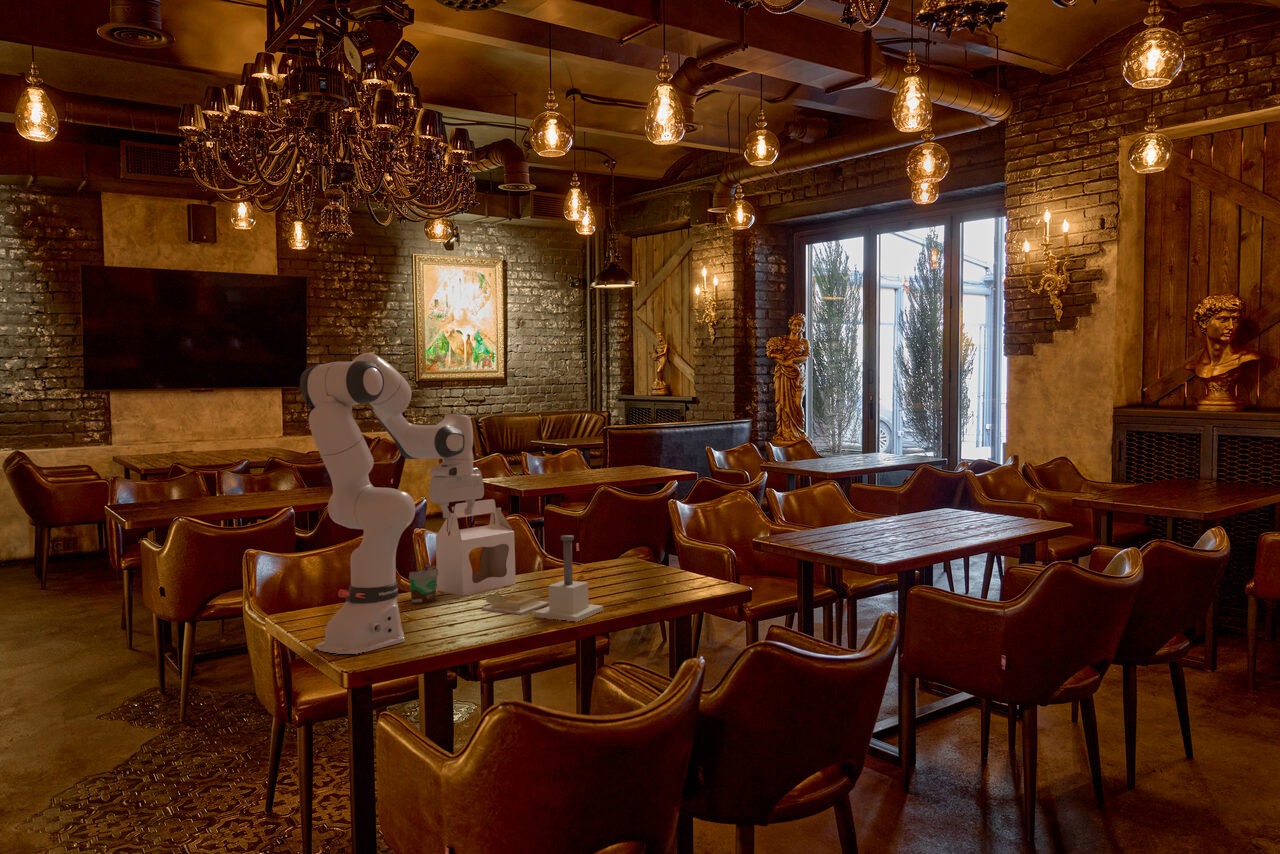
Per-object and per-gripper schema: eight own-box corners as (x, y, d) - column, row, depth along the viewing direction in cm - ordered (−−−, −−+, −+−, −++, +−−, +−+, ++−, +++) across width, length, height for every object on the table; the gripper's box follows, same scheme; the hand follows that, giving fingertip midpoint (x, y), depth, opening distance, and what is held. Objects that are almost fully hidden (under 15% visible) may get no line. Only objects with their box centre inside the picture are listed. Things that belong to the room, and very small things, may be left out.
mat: (521, 614, 254) (521, 612, 254) (482, 609, 261) (482, 607, 261) (549, 604, 266) (549, 602, 266) (511, 599, 273) (511, 597, 273)
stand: (576, 622, 244) (575, 541, 243) (534, 617, 251) (532, 538, 250) (603, 610, 257) (601, 533, 256) (562, 606, 263) (560, 531, 262)
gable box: (490, 579, 305) (488, 496, 304) (516, 584, 296) (514, 499, 295) (436, 591, 288) (433, 503, 287) (462, 596, 279) (459, 506, 278)
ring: (519, 610, 257) (519, 603, 257) (477, 605, 264) (477, 598, 264) (539, 602, 266) (539, 596, 266) (498, 598, 273) (498, 591, 273)
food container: (428, 606, 266) (428, 572, 266) (409, 606, 268) (408, 572, 267) (446, 597, 278) (445, 565, 278) (427, 596, 280) (426, 564, 279)
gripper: (472, 467, 274) (472, 512, 275) (425, 470, 257) (425, 518, 257) (488, 467, 271) (488, 513, 271) (442, 470, 254) (442, 520, 254)
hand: (457, 516), depth 264 cm, fingers open, 8 cm apart
